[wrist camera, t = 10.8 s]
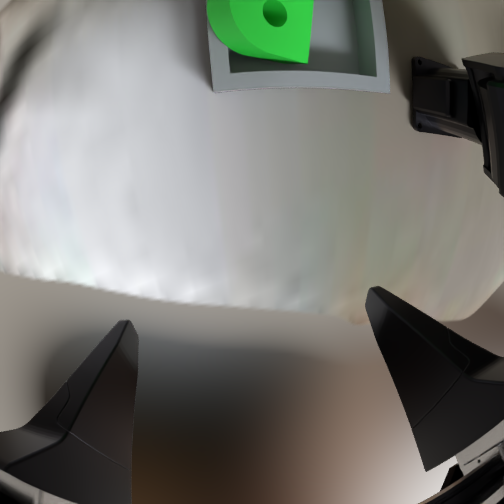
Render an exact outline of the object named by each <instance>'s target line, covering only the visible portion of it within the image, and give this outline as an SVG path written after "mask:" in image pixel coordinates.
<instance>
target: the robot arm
mask: <svg viewBox="0 0 504 504" xmlns="http://www.w3.org/2000/svg"><path fill="white" fill-rule="evenodd" d="M417 60H418V61H419V64H418V63H417ZM462 62H463V65H464V66H465V67H466V70H465V69H454V68H451V67H449V66H446V65H443V64H440V63H437V62H434V61H431V60H428V59H425V58H422V57H413V59H412V70H413V128H414V130H416V131H419V132H426V133H433V134H440V135H447V136H453V137H458V138H465V139H468V140H470V141H473V142H476V143H478V144H481V145H482V147H483V156H484V165H483V168H484V173H485V174H486V175H487V176H488V177H489V178H490V179H491V180H492V181H493V182H494V183H495V184H496V185H497V187H498V188H499V193H500V194H501V195H502V196H503V197H504V53H487V54H481V55H476V56H471V57H466V58H462ZM418 124H419V127H418ZM365 308H366V311H367V314H368V317H369V320H370V323H371V326H372V329H373V332H374V336H375V338H376V341H377V344H378V346H379V348H380V351H381V353H382V355H383V358H384V360H385V362H386V364H387V367H388V369H389V372H390V374H391V377H392V379H393V381H394V384H395V386H396V389H397V391H398V394H399V396H400V399H401V402H402V404H403V407H404V409H405V412H406V415H407V418H408V420H409V423H410V426H411V428H412V432H413V435H414V438H415V441H416V444H417V447H418V450H419V453H420V456H421V459H422V462H423V465H424V469H425V471H426V472H427V471H429V470H431V469H433V468H434V467H436V466H438V465H440V464H441V463H443V462H444V461H446V460H448V459H450V458H451V457H453V456H456V459H457V461H458V463H457V464H455V465H454V466H452V467H451V468H449V471H448V473H447V476H446V478H445V481H444V483H443V485H442V488H441V490H440V492H438V493H437V494H435V495H433V496H431V497H430V498H428V499H426V500H424V501H423V502H420V503H418V504H504V357H500V356H497V355H495V354H493V353H491V352H489V351H487V350H486V349H484V348H482V347H480V346H478V345H476V344H474V343H472V342H471V341H469V340H467V339H465V338H463V337H462V336H460V335H459V334H457V333H455V332H454V331H452V330H451V329H449V328H447V327H446V326H444V325H443V324H441V323H439V322H438V321H436V320H435V319H433V318H431V317H430V316H428V315H427V314H425V313H423V312H422V311H420V310H419V309H417V308H415V307H414V306H412V305H410V304H409V303H407V302H405V301H404V300H402V299H400V298H399V297H397V296H395V295H394V294H392V293H390V292H389V291H387V290H385V289H384V288H382V287H380V286H376V287H371V288H370V289H369V290H368V294H367V299H366V303H365ZM138 342H139V339H138V334H137V332H136V330H135V328H134V326H133V324H132V323H131V321H130V320H120V321H118V322H117V324H116V325H115V326H114V327H113V328H112V329H111V330H110V331H109V333H108V334H107V335H106V336H105V337H104V338H103V339H102V340H101V342H99V344H98V345H97V346H96V347H95V348H94V349H93V351H92V352H91V353H90V354H89V355H88V356H87V357H86V358H85V360H84V361H83V362H82V363H81V364H80V365H79V367H78V368H77V369H76V370H75V371H74V372H73V374H72V375H71V376H70V377H69V378H68V380H67V381H66V382H65V383H64V384H63V385H62V387H61V388H60V389H59V390H58V391H57V392H56V394H55V395H54V396H53V397H52V398H51V399H50V400H49V401H48V403H46V404H45V406H44V407H43V408H42V409H41V410H40V411H39V412H38V413H37V414H36V415H35V416H34V417H33V418H32V419H31V420H30V421H29V422H28V423H27V424H25V425H24V426H22V427H20V428H18V429H14V430H9V431H4V432H0V504H132V502H131V455H132V434H133V419H134V407H135V396H136V386H137V378H138V344H139V343H138Z"/></svg>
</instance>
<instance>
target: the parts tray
mask: <svg viewBox="0 0 504 504" xmlns="http://www.w3.org/2000/svg"><path fill="white" fill-rule="evenodd" d="M205 4H206V17H207V29H208V40H209V51H210V62H211V73H212V83H213V92H214V93H219V92H228V91H239V90H251V89H270V88H325V89H343V90H356V91H366V92H379V93H390V74H389V56H388V44H387V34H386V25H385V17H384V10H383V4H382V0H314V3H313V15H312V26H311V37H310V47H309V57H308V64H282V63H278V62H274V61H270V60H265V59H261V58H256V57H251V56H246V55H242V54H239V53H237V52H235V51H233V50H231V49H230V48H228V47H227V46H226V45H225V44H224V43H222V41H221V40H220V39H219V38H218V37H217V36H216V34H215V33H214V31H213V29H212V27H211V25H210V22H209V19H208V15H207V0H205Z"/></svg>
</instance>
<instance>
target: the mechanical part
mask: <svg viewBox="0 0 504 504" xmlns="http://www.w3.org/2000/svg"><path fill="white" fill-rule="evenodd" d="M313 3H314V0H207V15H208V19H209V22H210V25H211V27H212V29H213V31H214V33H215V34H216V36H217V37H218V38H219V39H220V40H221V41H222V43H224V44H225V45H226V46H227V47H228V48H230V49H231V50H233V51H235V52H237V53H239V54H242V55H246V56H251V57H256V58H261V59H265V60H270V61H274V62H278V63H282V64H308V57H309V47H310V37H311V26H312V15H313Z"/></svg>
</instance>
